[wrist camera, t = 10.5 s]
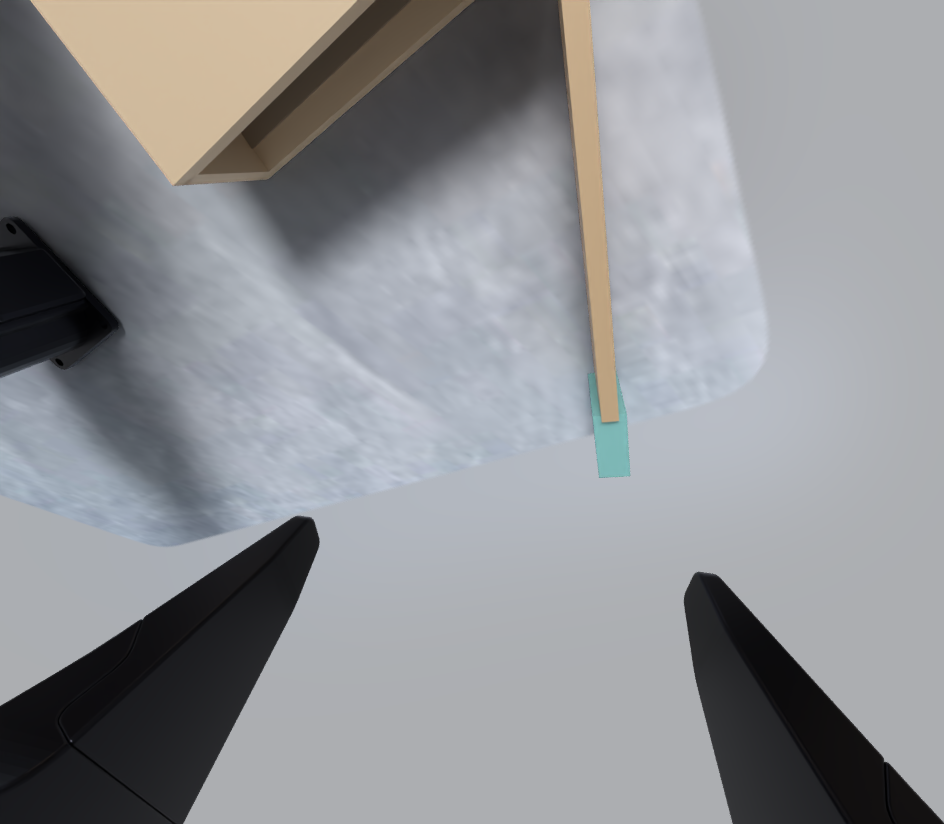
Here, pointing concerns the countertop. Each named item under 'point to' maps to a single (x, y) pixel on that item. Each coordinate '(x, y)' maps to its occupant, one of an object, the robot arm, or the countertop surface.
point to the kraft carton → (238, 71)
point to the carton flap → (593, 237)
